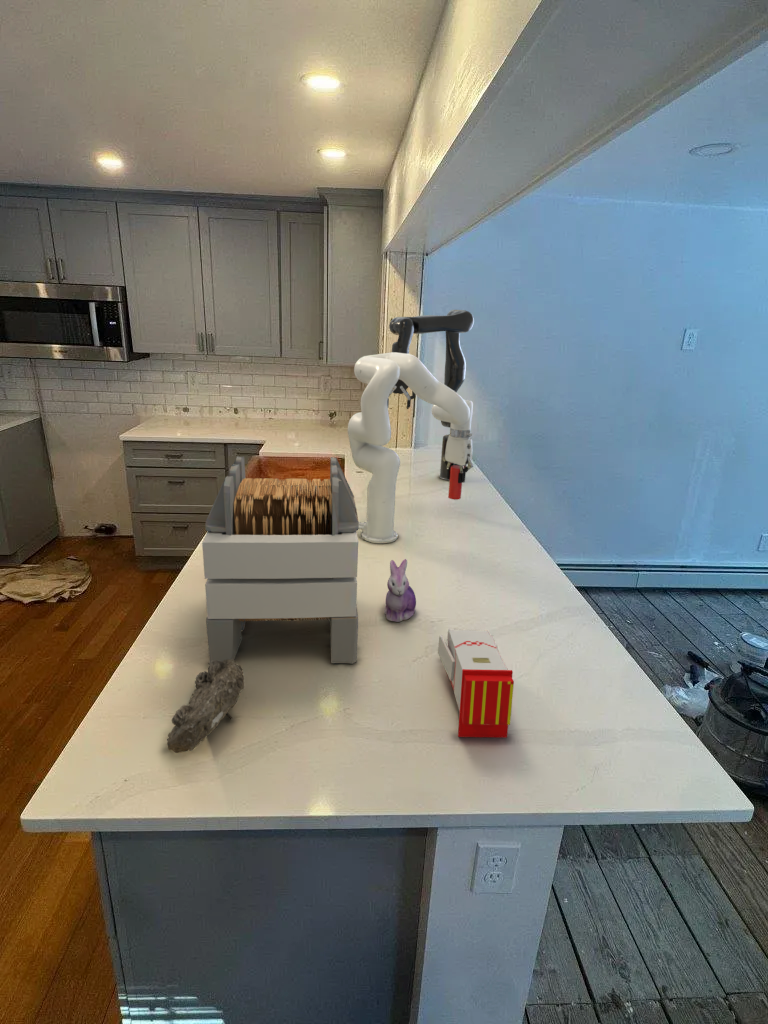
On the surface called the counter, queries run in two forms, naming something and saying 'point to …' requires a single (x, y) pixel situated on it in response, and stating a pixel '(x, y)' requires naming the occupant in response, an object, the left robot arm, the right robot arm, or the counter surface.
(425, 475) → the counter surface
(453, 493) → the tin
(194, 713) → the fossil
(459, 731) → the toy
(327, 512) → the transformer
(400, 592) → the figurine
